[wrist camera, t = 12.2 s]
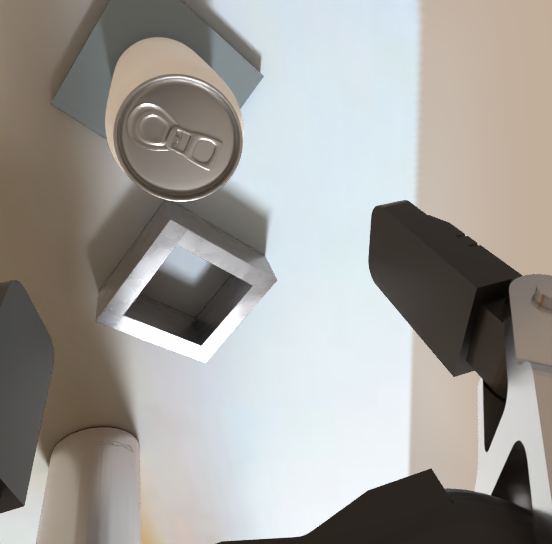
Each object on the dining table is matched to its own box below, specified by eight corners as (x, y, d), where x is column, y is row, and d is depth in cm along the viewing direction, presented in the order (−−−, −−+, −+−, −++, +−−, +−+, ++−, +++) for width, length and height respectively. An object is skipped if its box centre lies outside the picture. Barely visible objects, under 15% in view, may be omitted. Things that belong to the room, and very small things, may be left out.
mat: (181, 182, 33) (183, 187, 32) (52, 100, 27) (50, 104, 27) (260, 73, 30) (263, 76, 29) (134, -42, 25) (134, -43, 24)
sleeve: (199, 334, 42) (205, 362, 38) (98, 292, 36) (95, 321, 33) (265, 256, 39) (277, 280, 36) (166, 197, 33) (170, 219, 30)
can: (132, 14, 25) (132, 28, 16) (227, 68, 28) (276, 107, 19) (99, 114, 28) (82, 180, 18) (190, 154, 31) (216, 228, 21)
